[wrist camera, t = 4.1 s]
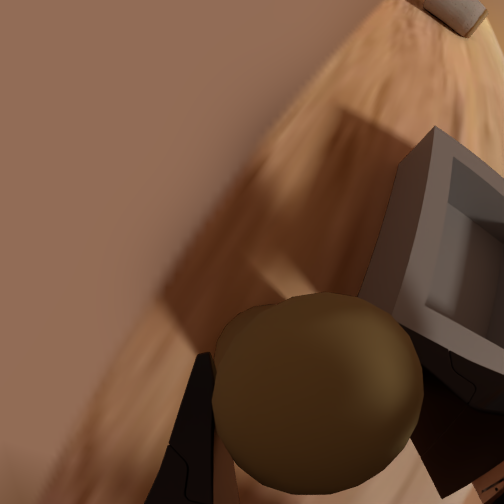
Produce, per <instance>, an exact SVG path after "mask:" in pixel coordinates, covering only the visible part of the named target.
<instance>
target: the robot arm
mask: <svg viewBox="0 0 504 504" xmlns="http://www.w3.org/2000/svg"><path fill="white" fill-rule="evenodd" d="M398 323H399V322H398ZM399 325H400V326H401V327H402V328H403V329H404V330H405V331H406V333H407V334H408V335H409V336H410V339H411V341H412V343H413V346H414V348H415V351H416V353H417V356H418V358H419V361H420V364H421V367H422V374H423V390H424V397H423V402H422V406H421V411H420V415H419V419H418V423H417V425H416V427H415V429H414V431H413V433H412V435H411V436H410V438H411V440H412V442H413V444H414V446H415V448H416V450H417V452H418V453H419V455H420V456H421V460H422V461H423V463H424V465H425V467H426V469H427V471H428V473H429V475H430V477H431V479H432V481H433V483H434V485H435V487H436V489H437V491H438V493H439V495H440V497H441V498H442V499H443V498H445V497H447V496H449V495H451V494H453V493H454V492H456V491H458V490H460V489H461V488H463V487H465V486H467V485H468V484H470V483H472V484H473V486H474V488H475V489H476V491H477V493H478V495H479V498H480V499H481V501H482V503H483V504H504V374H501V373H499V372H496V371H494V370H491V369H489V368H486V367H484V366H482V365H479V364H477V363H475V362H472V361H470V360H468V359H466V358H464V357H462V356H460V355H458V354H456V353H455V352H453V351H451V350H448V349H447V348H445V347H443V346H441V345H440V344H438V343H436V342H434V341H432V340H430V339H428V338H427V337H425V336H423V335H421V334H419V333H417V332H415V331H413V330H412V329H410V328H408V327H406V326H404V325H402V324H400V323H399ZM216 374H217V370H216V367H215V364H214V361H213V359H212V356H211V353H210V352H205V353H201V354H198V355H197V357H196V359H195V362H194V366H193V369H192V372H191V375H190V378H189V381H188V384H187V387H186V390H185V393H184V396H183V399H182V402H181V405H180V408H179V412H178V415H177V418H176V421H175V424H174V427H173V430H172V434H171V437H170V440H169V445H168V446H167V449H166V452H165V456H164V458H163V461H162V464H161V467H160V470H159V472H158V474H157V477H156V479H155V481H154V483H153V486H152V488H151V490H150V492H149V494H148V496H147V498H146V500H145V503H144V504H240V502H239V496H238V489H237V482H236V476H235V469H234V461H233V459H232V457H231V455H230V454H229V452H228V450H227V449H226V447H225V445H224V444H223V442H222V440H221V439H220V437H219V435H218V434H217V429H216V424H215V418H214V412H213V407H212V397H213V391H214V385H215V380H216Z"/></svg>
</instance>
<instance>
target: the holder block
mask: <svg viewBox="0 0 504 504" xmlns="http://www.w3.org/2000/svg"><path fill="white" fill-rule="evenodd" d="M358 298H361V299H363V300H365V301H367V302H369V303H371V304H373V305H374V306H376V307H378V308H380V309H382V310H384V311H385V312H387V313H389V314H391V316H392V317H393V318H394V319H395V320H396V321H397V322H399V323H400V324H402V325H404V326H406V327H408V328H410V329H412V330H413V331H415V332H417V333H419V334H421V335H423V336H425V337H427V338H428V339H430V340H432V341H434V342H436V343H438V344H440V345H441V346H443V347H445V348H447V349H448V350H451V351H453V352H455V353H456V354H458V355H460V356H462V357H464V358H466V359H468V360H470V361H472V362H475V363H477V364H479V365H482V366H484V367H486V368H489V369H491V370H494V371H496V372H499V373H501V374H504V178H502V177H501V176H500V175H499V174H498V173H497V172H496V171H494V170H493V169H492V168H491V167H490V166H488V165H487V164H486V163H485V162H484V161H482V160H481V159H480V158H479V157H477V156H476V155H475V154H474V153H472V152H471V151H470V150H468V149H467V148H466V147H464V146H463V145H462V144H460V143H459V142H458V141H456V140H455V139H454V138H452V137H451V136H449V135H448V134H447V133H445V132H444V131H442V130H441V129H439V128H438V127H436V126H434V127H433V128H432V129H431V130H430V132H429V133H428V134H427V135H426V136H425V137H424V138H423V139H422V140H421V141H420V142H419V143H418V144H417V145H416V147H415V148H414V149H413V150H412V151H411V152H410V153H409V154H408V155H407V156H406V157H405V158H404V159H403V160H402V161H401V162H400V163H399V166H398V170H397V174H396V178H395V182H394V185H393V189H392V193H391V196H390V200H389V204H388V207H387V211H386V214H385V217H384V221H383V224H382V227H381V231H380V234H379V237H378V240H377V243H376V246H375V249H374V252H373V255H372V258H371V261H370V264H369V267H368V270H367V273H366V275H365V278H364V281H363V284H362V286H361V289H360V292H359V294H358Z"/></svg>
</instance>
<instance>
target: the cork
mask: <svg viewBox="0 0 504 504" xmlns="http://www.w3.org/2000/svg"><path fill="white" fill-rule="evenodd" d="M214 362H215V367H216V370H217V374H216V380H215V385H214V391H213V397H212V407H213V412H214V418H215V424H216V429H217V434H218V435H219V437H220V439H221V440H222V442H223V444H224V445H225V447H226V449H227V450H228V452H229V454H230V455H231V457H232V459H233V460H234V461H235V463H236V464H237V465H238V466H239V467H240V468H241V469H242V470H244V471H245V472H246V473H248V474H249V475H250V476H251V477H253V478H254V479H255V480H257V481H258V482H259V483H261V484H262V485H264V486H267V487H270V488H273V489H276V490H279V491H283V492H286V493H289V494H295V495H326V494H333V493H337V492H340V491H343V490H347V489H350V488H353V487H356V486H359V485H360V484H362V483H364V482H365V481H367V480H369V479H370V478H372V477H373V476H375V475H377V474H378V473H380V472H381V471H383V470H384V469H385V468H386V467H387V466H388V465H389V464H390V463H391V462H392V461H393V460H394V459H395V458H396V456H397V455H398V454H399V453H400V452H401V451H402V450H403V449H404V447H405V445H406V444H407V442H408V440H409V438H410V436H411V435H412V433H413V431H414V429H415V427H416V425H417V423H418V419H419V415H420V411H421V406H422V402H423V397H424V390H423V374H422V367H421V364H420V361H419V358H418V356H417V353H416V351H415V348H414V346H413V343H412V341H411V339H410V336H409V335H408V334H407V333H406V331H405V330H404V329H403V328H402V327H401V326H400V325H399V323H398V322H397V321H396V320H395V319H394V318H393V317H392V316H391V314H389V313H387V312H385V311H384V310H382V309H380V308H378V307H376V306H374V305H373V304H371V303H369V302H367V301H365V300H363V299H361V298H358V297H354V296H348V295H342V294H336V293H330V292H321V293H315V294H308V295H302V296H295V297H291V298H289V299H287V300H285V301H283V302H281V303H279V304H277V305H274V304H269V305H262V306H255V307H253V308H250V309H248V310H246V311H244V312H242V313H240V314H238V315H237V316H236V317H235V318H234V319H233V320H232V321H231V322H230V323H229V324H227V325H226V326H225V328H224V330H223V332H222V334H221V335H220V337H219V339H218V341H217V345H216V350H215V356H214Z"/></svg>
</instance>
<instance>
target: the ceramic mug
mask: <svg viewBox="0 0 504 504" xmlns="http://www.w3.org/2000/svg"><path fill="white" fill-rule="evenodd" d="M423 7H424V8H425V9H426V10H428V11H429V12H430V13H432V14H433V15H435V16H436V17H437V18H439V19H440V20H442V21H443V22H444V23H446V24H447V25H448V26H450V27H451V28H452V29H453V30H454V31H456V32H457V33H458V34H460V35H461V36H463V37H465V38H469V37H470V36H471V35H472V34H473V33H474V32H475V30H476V29H477V28H478V27H479V25H480V24H481V23H482V22H483V20H484V19H485V18H486V16H487V15H488V11H487V9H486V8H485V7H484V6H483V4H481V3H480V2H479V1H478V0H425V1H424V4H423Z"/></svg>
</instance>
